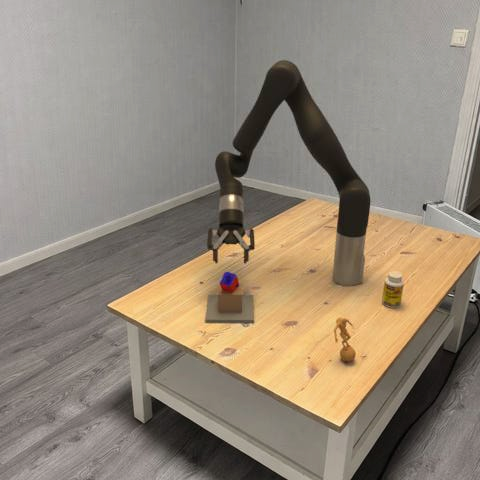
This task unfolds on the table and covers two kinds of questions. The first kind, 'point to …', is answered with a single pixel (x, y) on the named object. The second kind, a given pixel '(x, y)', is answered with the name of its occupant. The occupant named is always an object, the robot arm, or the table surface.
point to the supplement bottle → (393, 290)
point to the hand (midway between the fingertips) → (230, 262)
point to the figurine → (347, 351)
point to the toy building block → (229, 282)
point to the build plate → (230, 316)
